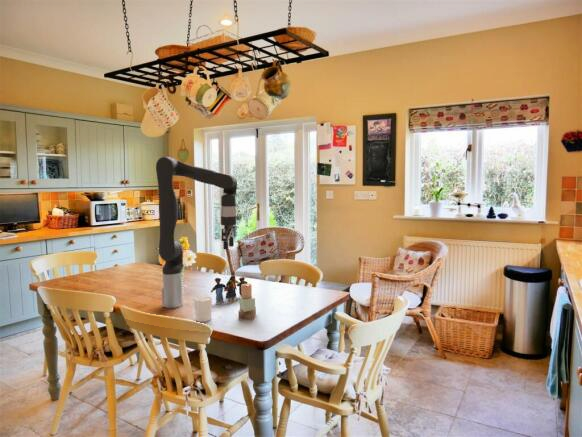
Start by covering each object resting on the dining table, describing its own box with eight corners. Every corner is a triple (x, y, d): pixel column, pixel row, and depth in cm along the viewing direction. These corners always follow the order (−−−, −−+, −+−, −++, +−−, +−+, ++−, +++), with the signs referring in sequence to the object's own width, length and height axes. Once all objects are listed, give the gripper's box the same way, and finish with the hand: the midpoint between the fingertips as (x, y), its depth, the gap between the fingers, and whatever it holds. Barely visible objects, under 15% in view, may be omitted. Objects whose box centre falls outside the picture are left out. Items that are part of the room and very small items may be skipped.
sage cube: (244, 311, 191) (243, 300, 190) (239, 308, 196) (239, 297, 195) (255, 309, 193) (255, 298, 193) (250, 306, 198) (250, 295, 198)
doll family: (223, 307, 210) (222, 281, 208) (209, 304, 214) (208, 279, 213) (249, 295, 230) (248, 271, 229) (235, 293, 234) (234, 270, 233)
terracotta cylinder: (240, 298, 192) (239, 286, 192) (242, 295, 197) (242, 283, 196) (250, 299, 192) (250, 286, 191) (252, 296, 196) (252, 283, 196)
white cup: (191, 321, 190) (190, 299, 189) (201, 315, 197) (200, 295, 196) (206, 323, 187) (205, 301, 186) (215, 317, 194) (214, 296, 193)
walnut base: (238, 320, 192) (238, 311, 191) (241, 314, 199) (241, 306, 198) (253, 320, 191) (253, 311, 191) (255, 315, 198) (255, 306, 198)
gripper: (225, 213, 212) (225, 245, 214) (216, 216, 198) (216, 250, 200) (240, 214, 211) (240, 245, 212) (231, 216, 197) (231, 250, 198)
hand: (228, 247), depth 206 cm, fingers open, 8 cm apart
